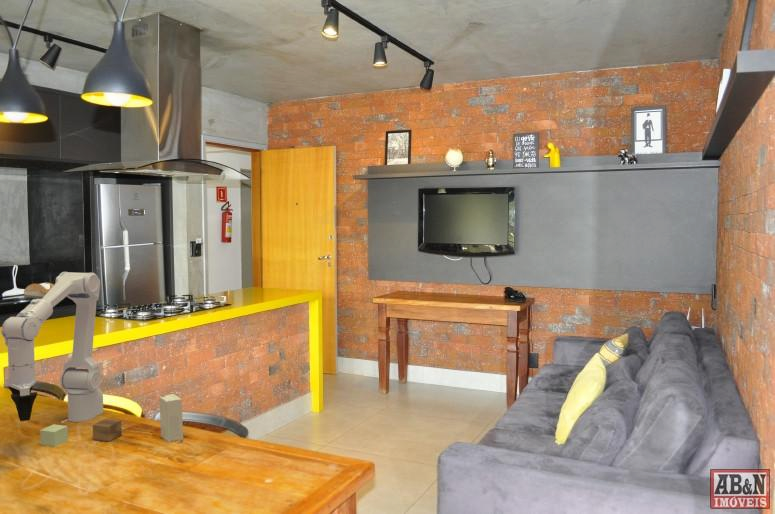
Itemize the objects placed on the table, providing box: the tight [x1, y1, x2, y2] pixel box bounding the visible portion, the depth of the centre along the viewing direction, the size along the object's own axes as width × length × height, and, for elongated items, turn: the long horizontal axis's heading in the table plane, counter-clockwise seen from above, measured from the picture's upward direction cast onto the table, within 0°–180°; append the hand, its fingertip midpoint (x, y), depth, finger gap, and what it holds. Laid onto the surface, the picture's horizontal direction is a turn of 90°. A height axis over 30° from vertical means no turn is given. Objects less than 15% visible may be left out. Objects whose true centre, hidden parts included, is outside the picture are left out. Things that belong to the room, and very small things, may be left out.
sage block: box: [39, 423, 69, 448], centre depth 161 cm, size 4×4×5 cm
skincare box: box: [158, 393, 184, 445], centre depth 165 cm, size 6×4×12 cm
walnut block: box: [92, 418, 123, 442], centre depth 165 cm, size 5×5×4 cm
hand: (23, 415), depth 156 cm, fingers open, 7 cm apart
